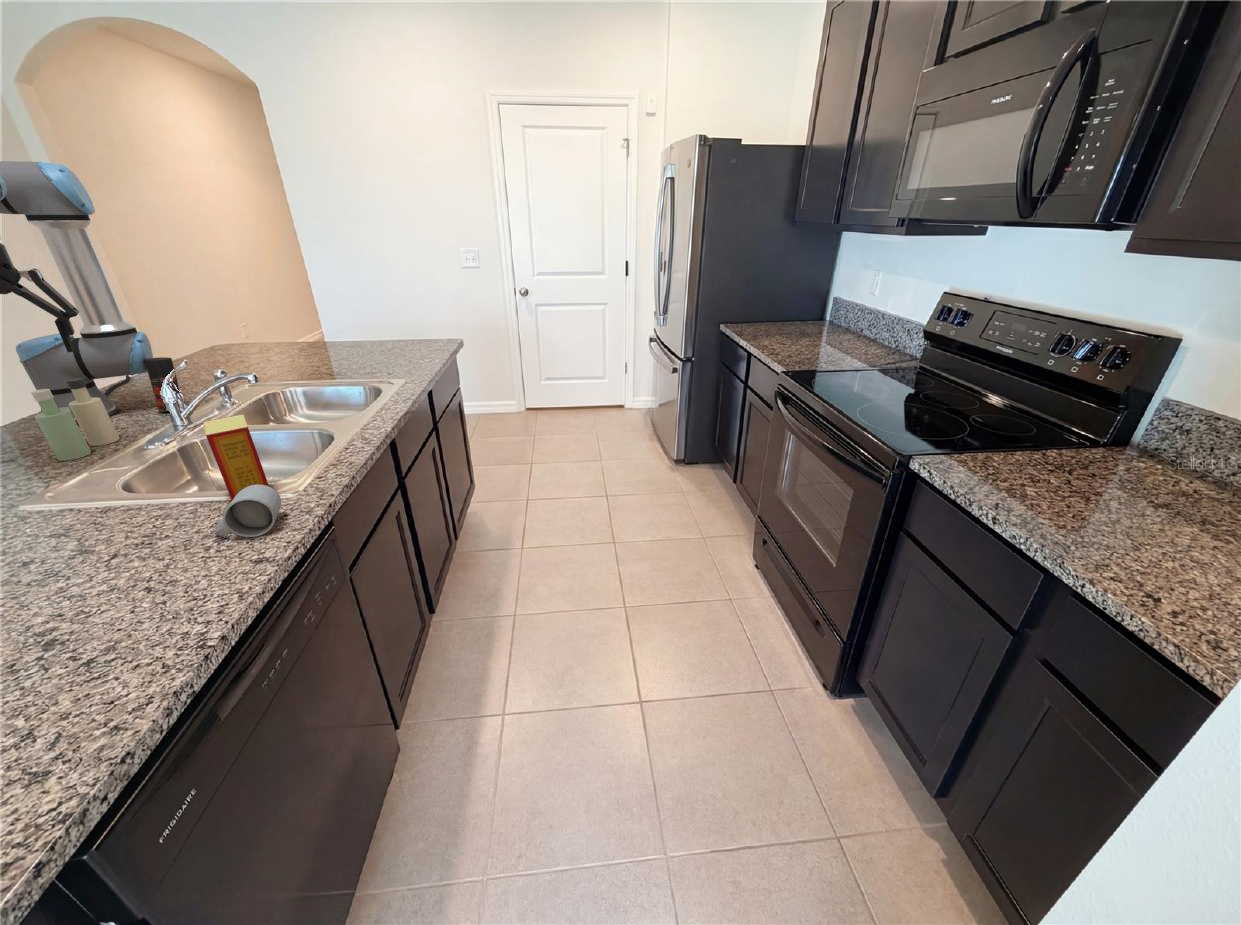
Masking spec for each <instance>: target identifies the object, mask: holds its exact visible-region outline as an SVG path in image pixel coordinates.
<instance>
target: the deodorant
mask: <svg viewBox="0 0 1241 925" xmlns="http://www.w3.org/2000/svg"><path fill="white" fill-rule="evenodd" d="M145 363H146V367H147V371H148V372H147V374H148V378H149V381H150V385H151V388H152V392H153V396H154V399H155V403H156V406H157V410H158V412H161V413H162V412H163V413H164V412H167V410H166V405H165V404H164V402H163V399H162V398H161V395H160V391H161V387H162V383H163V380H164V379H165V377H166V376H167V375H168V374H170V372H171V371H172V370H173V369H174V370H175V366H174V362H173V358H172V357H168V356H167V357H153V358H148V359H145ZM173 383H174V384H175V385H176V387H177V389H178V390H179V391H180V392H181V390H180V384H179V381H178V377H177V374H176V375H175V377H174V378H173Z"/></svg>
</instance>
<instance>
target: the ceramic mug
mask: <svg viewBox="0 0 1241 925" xmlns="http://www.w3.org/2000/svg"><path fill="white" fill-rule="evenodd" d="M281 506H282V500H281V496H280V494H279V492H277V491H276V489H274V488H272V487H271V486H270V485H269V486H266V485H251V486H248V487H246V488H244V489H243V490H241V491H240V492H239V493H238V494H237V495H236V496H235V498H234V499H233V500H231V502H229V503H228V505H227V506H226V508H225V509H224V512H223V516H222V520H220V521H219V522H218V523H217V524H216V525H215V526H214V528H213V531H214V533H215V534H216V535H218V536H219V537H224V536H227V535H228V534H229V535H230V534H231V533H233V535H236V536H240V537H243V538H255V537H260V536H263V535H265V534H266V533H268V532H269V531H270V530H271V529H273V527H274V525H275V523H276V520H277V517H278V515H279V512H280V510H281Z"/></svg>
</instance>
